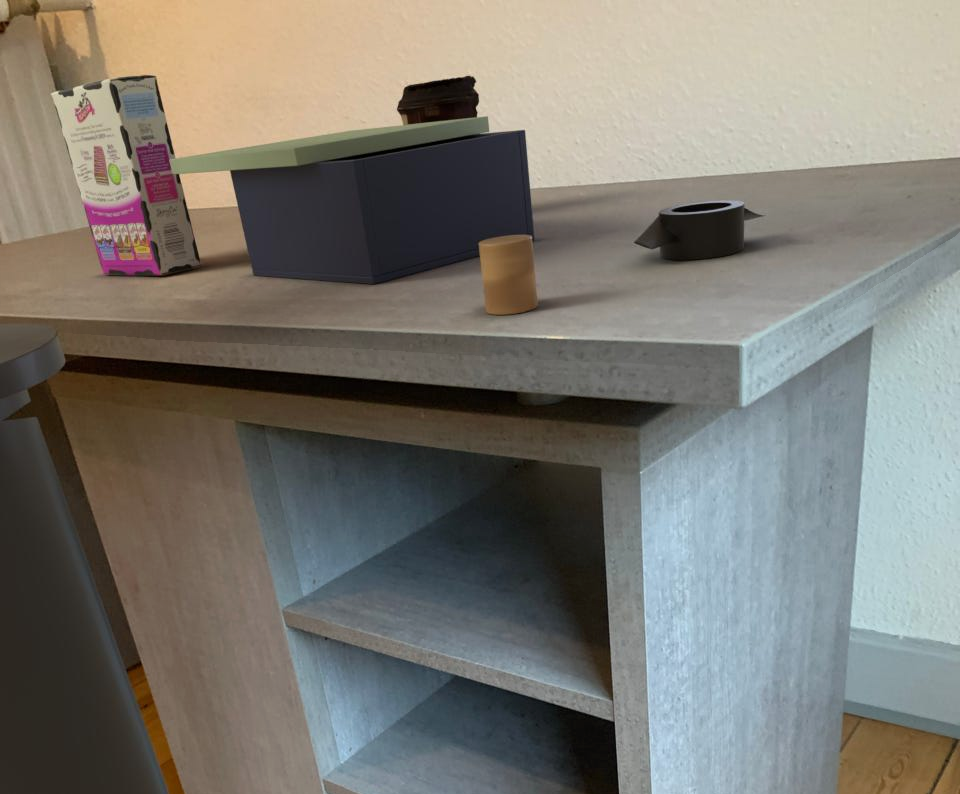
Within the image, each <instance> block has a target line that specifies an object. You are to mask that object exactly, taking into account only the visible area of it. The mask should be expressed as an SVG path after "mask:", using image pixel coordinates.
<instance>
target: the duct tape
mask: <svg viewBox="0 0 960 794" xmlns="http://www.w3.org/2000/svg"><path fill="white" fill-rule="evenodd" d="M766 216H767V215H766V214H761V213H757V212H754V211H752V210H750V209H748V208H747V207H745V202H744V201H741V200H731V199H729V200H710V201H709V200H708V201H699V202H691V203H684V204H678V205H673V206H669V207H666V208H662V209H660V210H659V211H658V216H657V217H656V218H655V219H654V220H653V222H651V224H649V226H648V227H647V228H646V229H645V230H644V231H643V233H642V234H640V235H639V236H638V237H637V238H636V240H634V241H633V243H634V244H635V245H639V246H640V247H642V248H645V249H649V250H652V251H654V250H655V249H658V248H659V257H660V258H662V259H664V260H672V261H692V260H693V261H695V260H705V259H713V258H720V257H726V256H730V255H734V254H737V253H740V252H741V251H743V250H744V249H745V221H750V220H754V219H757V218H763V217H766Z"/></svg>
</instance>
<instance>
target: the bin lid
mask: <svg viewBox="0 0 960 794" xmlns="http://www.w3.org/2000/svg"><path fill="white" fill-rule="evenodd" d="M483 133H490V123H489V116H487V115H486V116H477V117H476V118H466V119H457V120H447V121H438V122H428V123H419V124H409V125H403V124H401V125H392V126H391V125H390V126H381V127H373V128H371V127H370V128H362V129H354V130H345V131H339V132H333V133H327V134H320V135H313V136H308V137H302V138H301V137H300V138H295V139H290V140H283V141H277V142H271V143H264V144H257V145H251V146H245V147H239V148H233V149H227V150H226V149H225V150H219V151H213V152H208V153H201V154H195V155H187V156H182V157H175V159H169V161H170V165H171V169H172V173H173V174H179V175H186V174H198V173H213V172H230V170H244V169H259V168H274V167H288V166H300V165H305V164H311V163H317V162H322V161H328V160H334V159H339V158H345V157H351V156H356V155H362V154H367V153H373V152H379V151H384V150H390V149H396V148H401V147H407V146H413V145H418V144H424V143H430V142H435V141H441V140H446V139H452V138H458V137H463V136H469V135H475V134H483Z"/></svg>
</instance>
